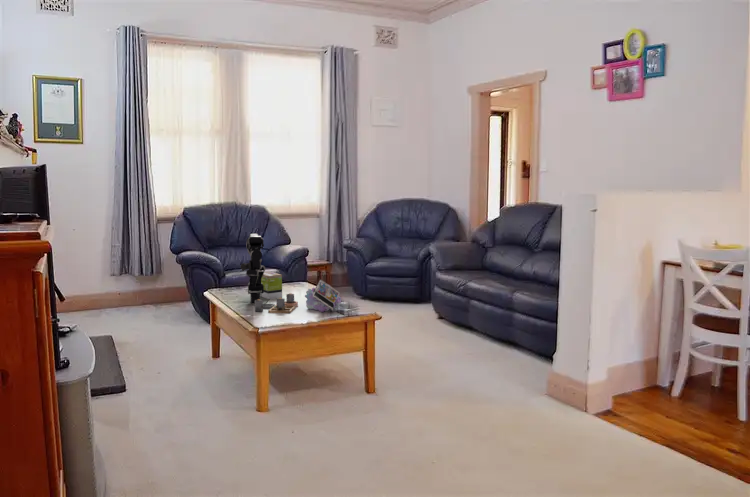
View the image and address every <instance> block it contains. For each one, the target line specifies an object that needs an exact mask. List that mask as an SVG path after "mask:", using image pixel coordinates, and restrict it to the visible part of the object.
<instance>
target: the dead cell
mask: <svg viewBox="0 0 750 497" xmlns="http://www.w3.org/2000/svg"><path fill="white" fill-rule="evenodd" d="M285 295H286V301H287V303H294V301H295V294H294V293H291V292H290V293H286V294H285Z"/></svg>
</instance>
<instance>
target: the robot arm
mask: <svg viewBox="0 0 750 497" xmlns="http://www.w3.org/2000/svg"><path fill="white" fill-rule="evenodd" d="M264 247H265V243H264V238H263V237H262V236H261V235H259V234H258V233H250V234H249V237H248V238H246V249H247V253H248V255H249V256H250V260H249V262H248V263H245V262H244V263H241V264H240V269H241V271H242V272H244V271H246V272H245V274H246V276H247V277H249V282H248V283H247V294H248V295H250V303H251V304H255V300H258V299H260V300H261V296H260V293H264V285H263V283H261V279H262V276H263V274H264V272H266V266H264V265H262V261H263V258H262V257H263V253H262V249H263V248H264ZM263 250H264V249H263Z"/></svg>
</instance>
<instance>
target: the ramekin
mask: <svg viewBox="0 0 750 497" xmlns="http://www.w3.org/2000/svg"><path fill="white" fill-rule="evenodd" d="M298 303H299V302H298V301H296V300H294V303H287V300H286V301H285V306H295V308H297V307H298V306H299V304H298Z"/></svg>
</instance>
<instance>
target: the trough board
mask: <svg viewBox="0 0 750 497" xmlns="http://www.w3.org/2000/svg"><path fill="white" fill-rule="evenodd" d="M275 306H277V305H276V304H275ZM275 306H273V307H272V308H271V309H270V310H268V314H291V313H292V312H293V311H294V310H295V309H296V307H295V306H285V311H282V310H277V308H274V307H275Z"/></svg>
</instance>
